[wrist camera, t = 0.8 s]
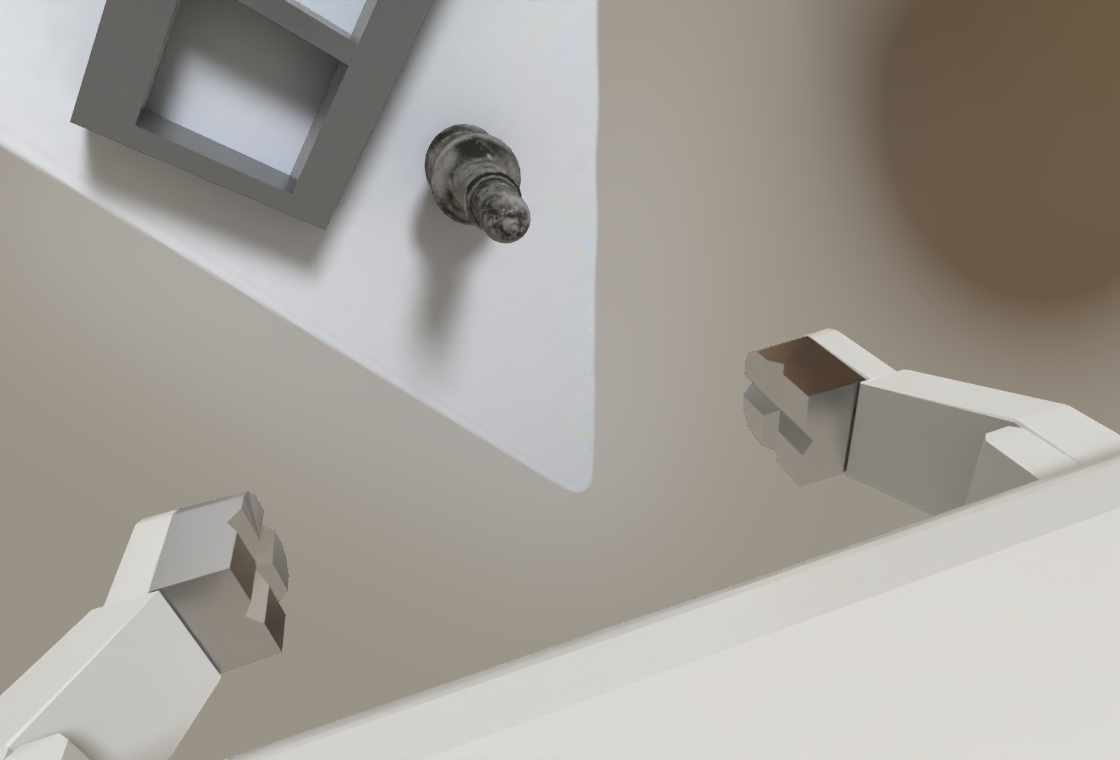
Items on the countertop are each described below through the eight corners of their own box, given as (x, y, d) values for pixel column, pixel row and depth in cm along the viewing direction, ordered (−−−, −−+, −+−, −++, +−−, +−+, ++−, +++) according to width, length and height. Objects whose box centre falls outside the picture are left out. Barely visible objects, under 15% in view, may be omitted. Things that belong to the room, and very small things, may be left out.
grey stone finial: (462, 223, 46) (511, 300, 37) (401, 164, 42) (439, 233, 33) (522, 164, 45) (586, 228, 36) (465, 99, 41) (521, 152, 32)
